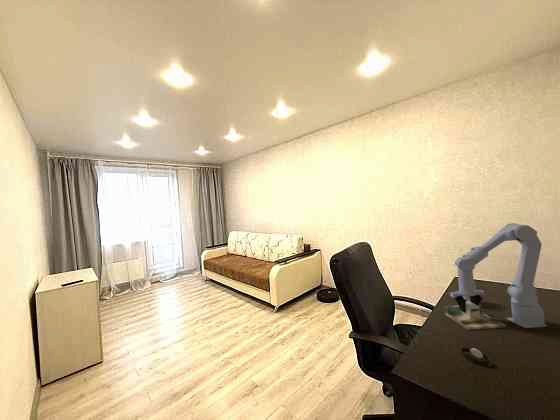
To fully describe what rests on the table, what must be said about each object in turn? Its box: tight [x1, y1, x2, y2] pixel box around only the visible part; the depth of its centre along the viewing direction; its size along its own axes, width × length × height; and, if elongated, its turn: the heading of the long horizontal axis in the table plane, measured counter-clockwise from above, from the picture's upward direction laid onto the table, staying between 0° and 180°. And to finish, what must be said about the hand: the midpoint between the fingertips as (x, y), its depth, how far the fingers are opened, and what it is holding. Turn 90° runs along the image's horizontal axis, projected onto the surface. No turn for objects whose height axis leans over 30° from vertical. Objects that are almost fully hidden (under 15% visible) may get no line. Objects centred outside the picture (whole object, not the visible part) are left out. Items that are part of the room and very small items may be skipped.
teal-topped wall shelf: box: [444, 303, 507, 331], centre depth 104 cm, size 16×14×4 cm
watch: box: [461, 347, 490, 366], centre depth 79 cm, size 8×5×4 cm, turn 33°
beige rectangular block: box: [460, 301, 480, 320], centre depth 105 cm, size 4×6×6 cm
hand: (468, 311), depth 106 cm, fingers open, 5 cm apart
